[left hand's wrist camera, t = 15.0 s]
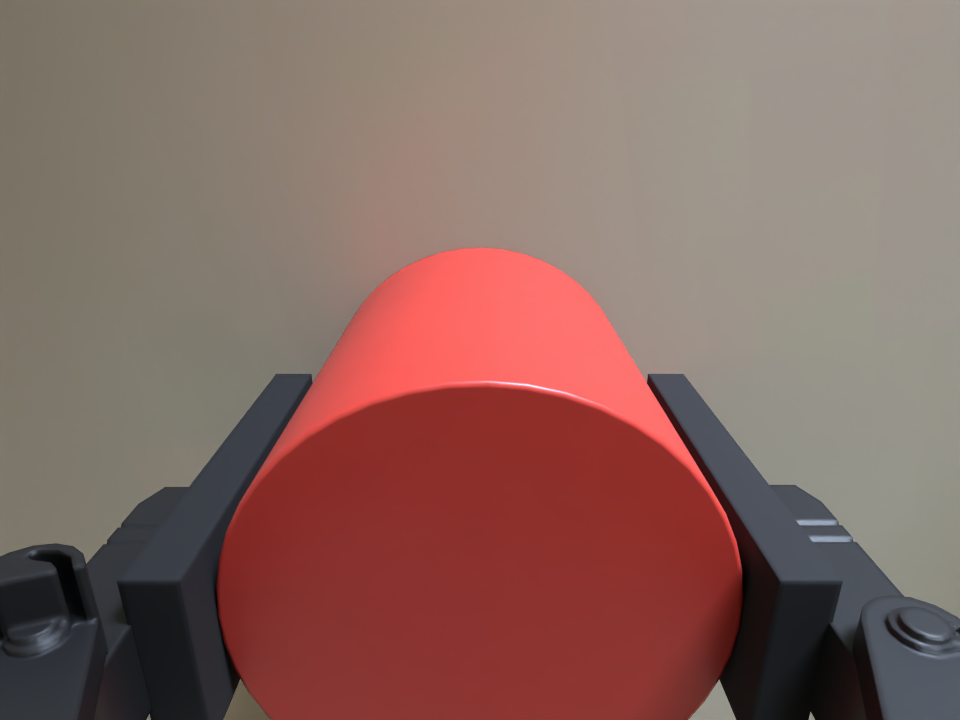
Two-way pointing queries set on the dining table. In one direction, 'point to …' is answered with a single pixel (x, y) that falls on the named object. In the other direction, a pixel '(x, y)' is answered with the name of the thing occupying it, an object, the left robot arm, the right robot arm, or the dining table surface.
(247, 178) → the dining table surface
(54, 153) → the dining table surface
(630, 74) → the dining table surface
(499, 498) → the canister
